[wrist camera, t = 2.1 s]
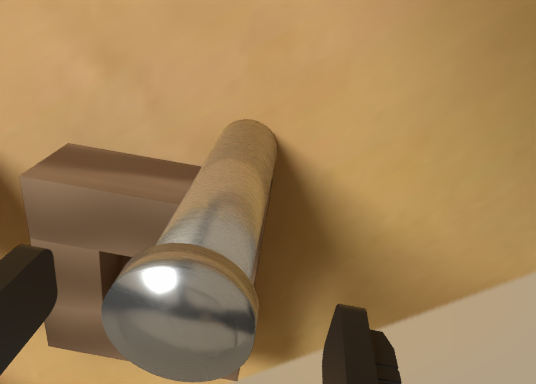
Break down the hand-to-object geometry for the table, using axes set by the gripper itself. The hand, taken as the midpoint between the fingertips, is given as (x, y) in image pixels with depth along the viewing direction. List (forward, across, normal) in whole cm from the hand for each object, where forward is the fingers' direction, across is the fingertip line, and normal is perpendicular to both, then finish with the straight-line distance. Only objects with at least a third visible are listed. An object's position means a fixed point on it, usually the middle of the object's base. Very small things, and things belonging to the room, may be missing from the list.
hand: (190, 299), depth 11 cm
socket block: (+11, +4, +6) cm, 13 cm away
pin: (+11, 0, 0) cm, 11 cm away
